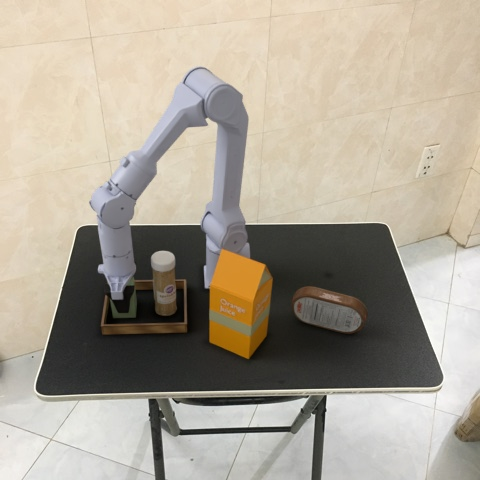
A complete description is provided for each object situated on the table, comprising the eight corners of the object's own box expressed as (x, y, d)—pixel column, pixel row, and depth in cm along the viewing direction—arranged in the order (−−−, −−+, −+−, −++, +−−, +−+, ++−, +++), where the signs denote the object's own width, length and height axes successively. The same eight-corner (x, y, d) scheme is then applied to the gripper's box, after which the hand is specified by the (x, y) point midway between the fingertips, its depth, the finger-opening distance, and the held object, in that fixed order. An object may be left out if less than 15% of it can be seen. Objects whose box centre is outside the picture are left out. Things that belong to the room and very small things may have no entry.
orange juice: (248, 359, 104) (255, 276, 90) (208, 342, 107) (209, 259, 93) (267, 335, 109) (276, 252, 95) (228, 319, 112) (232, 237, 98)
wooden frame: (186, 287, 119) (186, 279, 117) (187, 332, 108) (187, 324, 107) (108, 289, 117) (107, 280, 116) (102, 334, 107) (100, 326, 105)
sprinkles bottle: (165, 320, 111) (162, 267, 102) (150, 309, 113) (145, 256, 104) (181, 309, 113) (179, 256, 104) (166, 299, 116) (163, 246, 106)
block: (136, 303, 114) (134, 276, 109) (135, 317, 111) (132, 291, 106) (115, 303, 114) (111, 277, 109) (113, 318, 111) (108, 291, 106)
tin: (363, 330, 111) (372, 298, 105) (360, 340, 109) (369, 309, 103) (291, 311, 114) (296, 280, 109) (287, 321, 112) (292, 289, 106)
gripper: (99, 226, 107) (107, 281, 116) (90, 272, 96) (100, 328, 106) (135, 226, 107) (141, 280, 117) (131, 272, 97) (137, 327, 106)
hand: (124, 303), depth 111 cm, fingers closed on block, 4 cm apart
